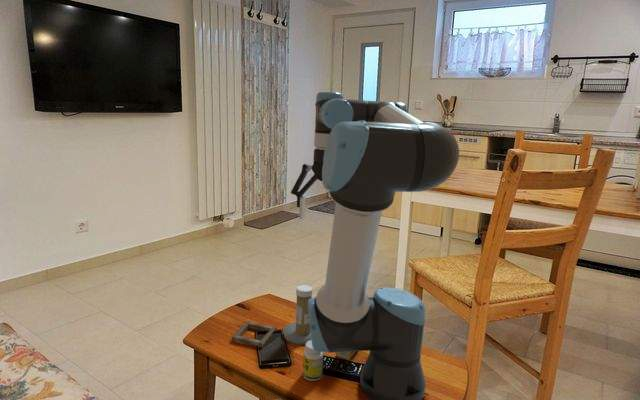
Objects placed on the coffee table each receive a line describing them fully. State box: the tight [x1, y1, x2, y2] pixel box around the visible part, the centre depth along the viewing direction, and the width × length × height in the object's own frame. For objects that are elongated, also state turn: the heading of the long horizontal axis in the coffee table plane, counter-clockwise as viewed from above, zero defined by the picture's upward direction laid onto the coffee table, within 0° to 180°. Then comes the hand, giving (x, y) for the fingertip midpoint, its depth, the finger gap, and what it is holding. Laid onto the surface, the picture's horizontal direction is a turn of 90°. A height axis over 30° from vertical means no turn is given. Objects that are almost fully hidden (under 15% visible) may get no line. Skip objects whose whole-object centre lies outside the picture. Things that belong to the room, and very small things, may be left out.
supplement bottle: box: [302, 340, 324, 382], centre depth 101 cm, size 5×5×8 cm
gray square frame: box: [231, 320, 278, 348], centre depth 118 cm, size 9×9×1 cm
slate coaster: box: [282, 321, 311, 346], centre depth 121 cm, size 11×11×1 cm
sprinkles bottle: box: [295, 284, 313, 335], centre depth 119 cm, size 5×5×14 cm
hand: (323, 221), depth 123 cm, fingers open, 13 cm apart
